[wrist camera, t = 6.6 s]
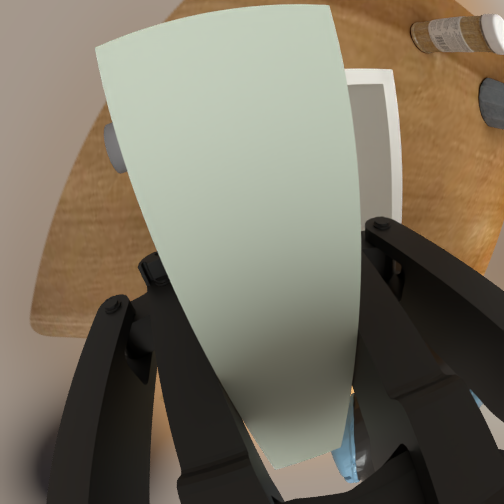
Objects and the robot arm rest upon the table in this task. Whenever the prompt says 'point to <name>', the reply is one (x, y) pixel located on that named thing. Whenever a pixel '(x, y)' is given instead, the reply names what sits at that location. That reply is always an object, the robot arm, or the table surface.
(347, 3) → the table surface
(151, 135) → the door
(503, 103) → the moka pot
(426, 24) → the sprinkles bottle
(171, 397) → the robot arm
